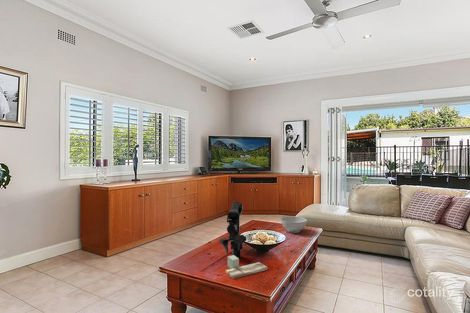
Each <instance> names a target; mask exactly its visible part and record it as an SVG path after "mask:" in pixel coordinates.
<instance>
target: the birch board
mask: <svg viewBox="0 0 470 313" xmlns="http://www.w3.org/2000/svg"><path fill="white" fill-rule="evenodd" d="M268 269H269V268H268V266H267V265H265V264H263V263H261V262H260V261H257V262H253V263H250V264H245V265H242V266H239V267H237V268H233V269H230V268H228V269H225V274H227V275H228V276H229V277H230V278H232V279H234V280H235V279H237V278H241V277H245V276H248V275H253V274H256V273H259V272H263V271H267V270H268Z"/></svg>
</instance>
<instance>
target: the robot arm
mask: <svg viewBox="0 0 470 313" xmlns="http://www.w3.org/2000/svg"><path fill="white" fill-rule="evenodd" d="M243 211H244V206H243V203H240V202H239V201H233V202H232V204H231V209H229V211H228V212H227V217H226V222H227V223H228V225H227V227H226V231H227V233H228V236H227V238H226V237H222V238H221V237H220V239H219V241H218V242H219V243H220V244H221V245H222V246H223V248H224V250H225V252H226V254H229V245H230V249H231V250H232V254H230V256H232V255H234V256H236V257H237V258H242V257H243V256H242V255H241V250H243V249H244V243H245V242H247V236H245V235H244V234H240V223H241V222H240V221H241V220H240V219H241V215H242V213H243ZM229 243H230V244H229Z"/></svg>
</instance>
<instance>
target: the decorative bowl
mask: <svg viewBox="0 0 470 313" xmlns="http://www.w3.org/2000/svg"><path fill="white" fill-rule="evenodd" d="M280 222H281V223H280V224H281V225H282V226H283V228H284V229H286V230H287V232H288V233H294V234H296V233H300V232H301V231H302V230H303V229H304V228H305V227H306V225H307V222H308V219H306V218H304V217H302V216H295V215H293V216H291V215H290V216H289V215H287V216H283V217H280Z"/></svg>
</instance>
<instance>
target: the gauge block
mask: <svg viewBox="0 0 470 313" xmlns="http://www.w3.org/2000/svg"><path fill="white" fill-rule="evenodd" d="M231 255H232V256H231ZM231 255H228V256H227V268H228V269H233V268H237V267H240V263H239V262H240V259H239V258H240V257H239V258H237V257H236V256H234V255H233V254H231Z"/></svg>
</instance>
